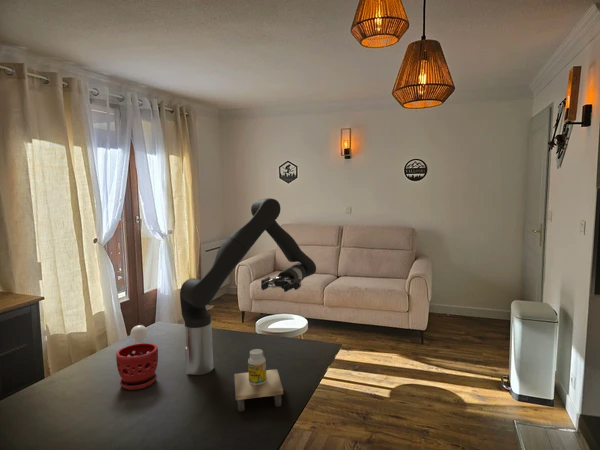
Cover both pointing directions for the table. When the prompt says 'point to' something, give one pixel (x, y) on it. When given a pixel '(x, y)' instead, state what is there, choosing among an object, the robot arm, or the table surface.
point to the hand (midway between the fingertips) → (273, 288)
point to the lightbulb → (139, 334)
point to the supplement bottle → (257, 367)
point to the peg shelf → (258, 388)
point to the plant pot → (137, 365)
